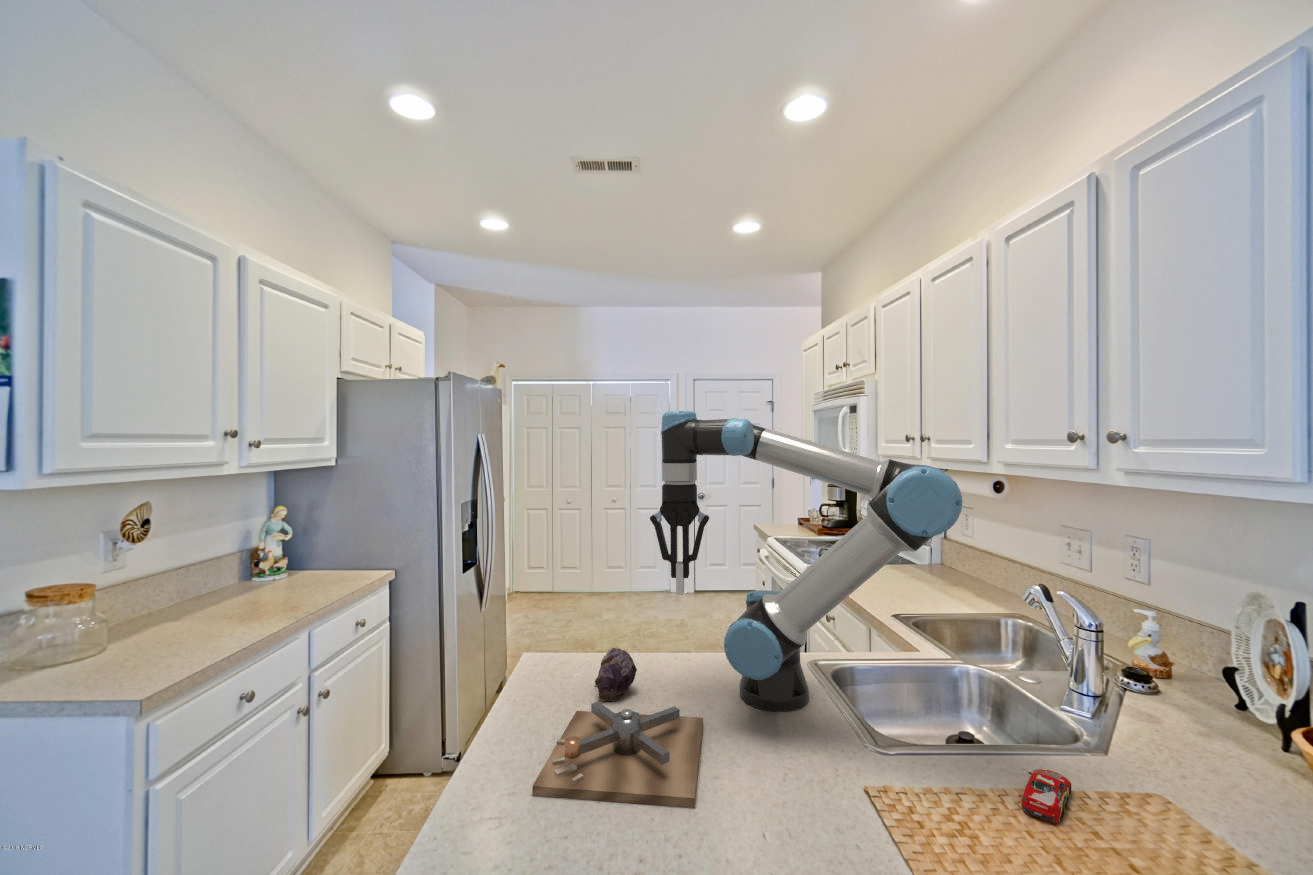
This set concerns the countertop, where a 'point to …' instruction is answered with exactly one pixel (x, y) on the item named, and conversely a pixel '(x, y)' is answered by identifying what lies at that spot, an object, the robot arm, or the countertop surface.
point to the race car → (1046, 795)
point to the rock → (615, 674)
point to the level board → (626, 766)
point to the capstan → (624, 733)
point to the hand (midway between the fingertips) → (680, 593)
